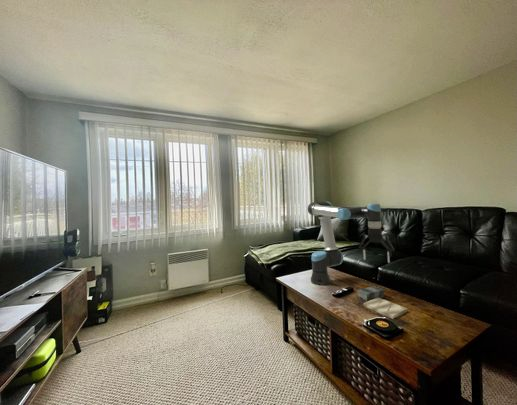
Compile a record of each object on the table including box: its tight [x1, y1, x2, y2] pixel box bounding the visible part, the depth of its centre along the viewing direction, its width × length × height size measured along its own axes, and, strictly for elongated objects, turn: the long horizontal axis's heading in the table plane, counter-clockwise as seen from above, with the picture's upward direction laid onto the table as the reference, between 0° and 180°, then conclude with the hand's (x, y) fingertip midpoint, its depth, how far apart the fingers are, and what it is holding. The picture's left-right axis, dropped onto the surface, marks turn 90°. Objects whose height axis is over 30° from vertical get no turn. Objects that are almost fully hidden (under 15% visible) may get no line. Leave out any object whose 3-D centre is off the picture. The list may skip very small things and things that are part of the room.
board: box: [362, 298, 409, 320], centre depth 119 cm, size 17×14×2 cm
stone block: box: [357, 285, 385, 302], centre depth 135 cm, size 9×14×5 cm, turn 107°
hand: (376, 260), depth 133 cm, fingers open, 13 cm apart
